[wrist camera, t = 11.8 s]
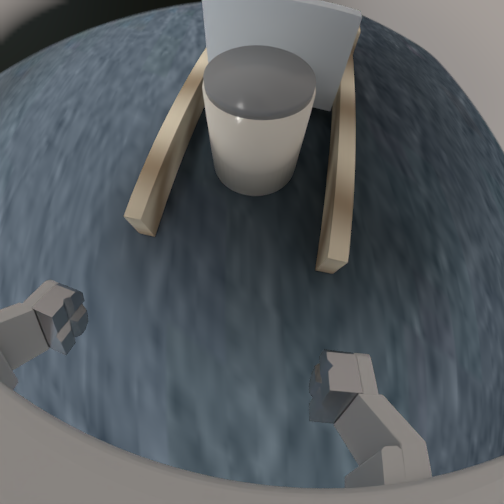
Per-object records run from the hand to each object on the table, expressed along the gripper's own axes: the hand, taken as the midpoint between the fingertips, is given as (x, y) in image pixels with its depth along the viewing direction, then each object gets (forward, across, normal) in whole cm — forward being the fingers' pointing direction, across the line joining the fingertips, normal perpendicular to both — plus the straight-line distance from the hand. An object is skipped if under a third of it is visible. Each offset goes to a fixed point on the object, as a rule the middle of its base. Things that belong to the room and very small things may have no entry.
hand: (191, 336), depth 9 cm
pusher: (+15, 0, -7) cm, 17 cm away
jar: (+12, 0, -3) cm, 12 cm away
